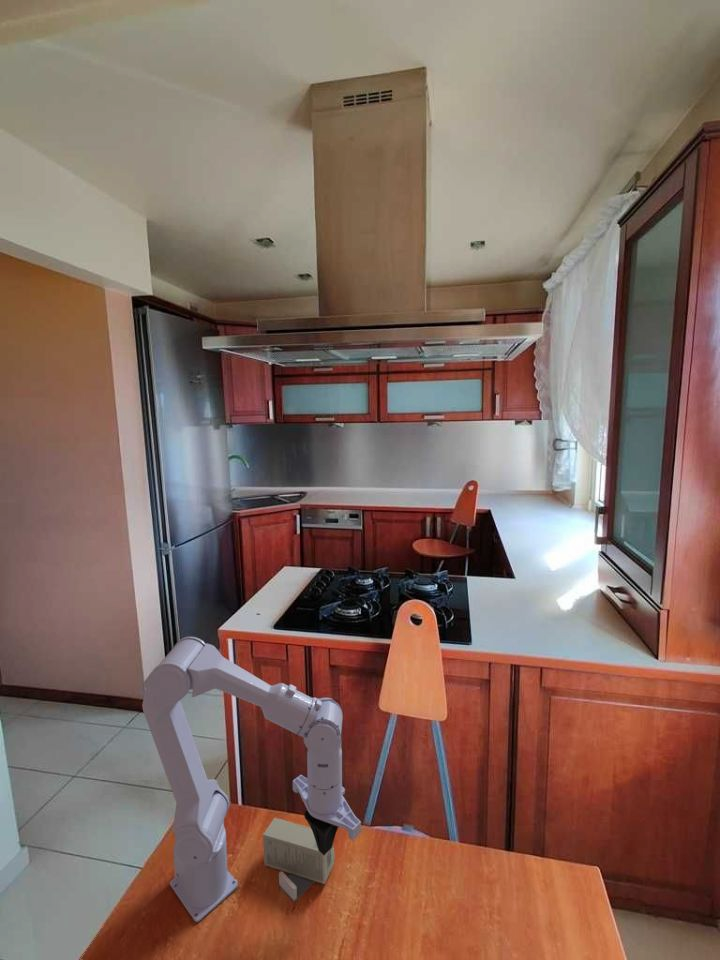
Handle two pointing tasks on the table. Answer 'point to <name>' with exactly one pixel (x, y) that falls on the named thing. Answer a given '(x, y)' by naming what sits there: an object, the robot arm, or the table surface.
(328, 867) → the skincare box
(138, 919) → the table surface
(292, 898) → the u rest
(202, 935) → the table surface
